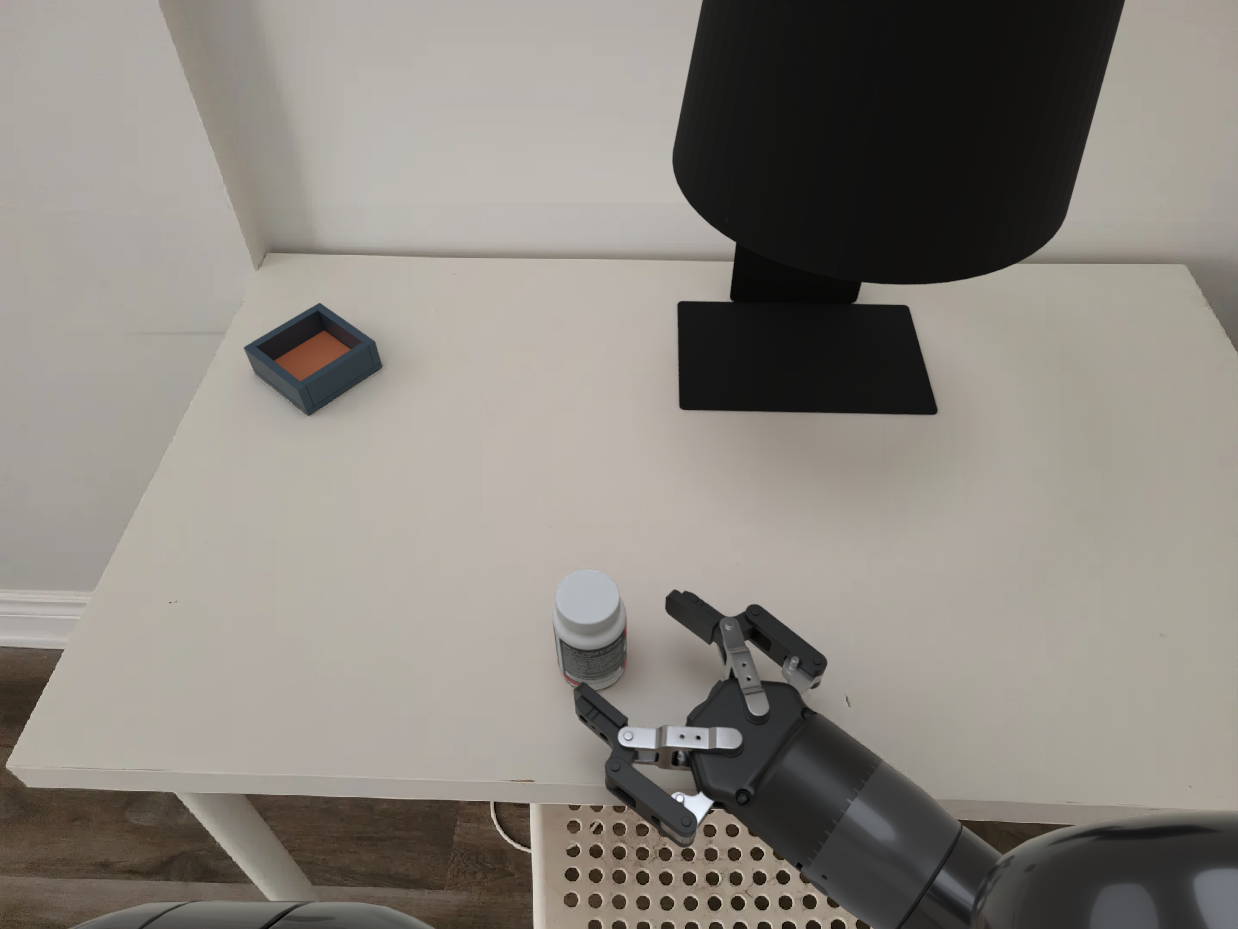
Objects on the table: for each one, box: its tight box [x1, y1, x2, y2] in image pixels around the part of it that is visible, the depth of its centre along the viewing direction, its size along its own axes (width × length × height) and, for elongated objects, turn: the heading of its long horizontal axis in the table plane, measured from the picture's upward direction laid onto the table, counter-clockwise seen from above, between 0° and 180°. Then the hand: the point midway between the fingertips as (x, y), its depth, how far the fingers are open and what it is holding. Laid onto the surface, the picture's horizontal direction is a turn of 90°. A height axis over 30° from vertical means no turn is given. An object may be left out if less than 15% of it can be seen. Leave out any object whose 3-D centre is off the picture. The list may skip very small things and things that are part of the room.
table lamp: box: [671, 0, 1126, 416], centre depth 61 cm, size 26×28×40 cm
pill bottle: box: [552, 568, 628, 691], centre depth 57 cm, size 5×5×8 cm
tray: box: [243, 302, 383, 416], centre depth 78 cm, size 8×8×3 cm
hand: (624, 643), depth 54 cm, fingers open, 8 cm apart
